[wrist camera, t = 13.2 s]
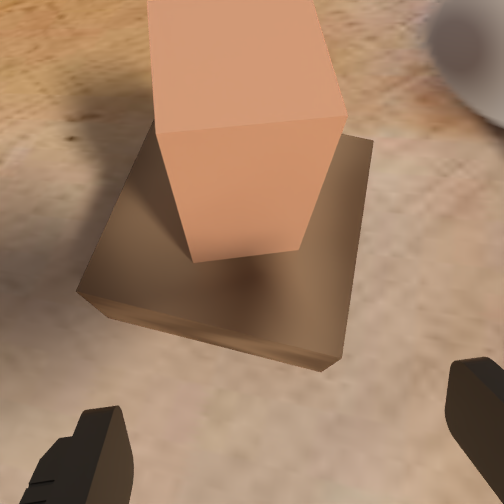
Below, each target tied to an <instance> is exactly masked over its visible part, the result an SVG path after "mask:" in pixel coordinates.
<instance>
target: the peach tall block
mask: <svg viewBox="0 0 504 504" xmlns="http://www.w3.org/2000/svg"><path fill="white" fill-rule="evenodd" d="M147 11H148V26H149V41H150V56H151V71H152V86H153V101H154V115H155V130H156V136H157V140H158V143H159V147H160V150H161V154H162V157H163V161H164V164H165V167H166V171H167V174H168V178H169V181H170V185H171V188H172V192H173V195H174V198H175V202H176V205H177V209H178V212H179V216H180V219H181V223H182V226H183V229H184V233H185V236H186V240H187V243H188V247H189V250H190V254H191V257H192V260H193V263H198V262H206V261H214V260H222V259H230V258H238V257H246V256H254V255H262V254H270V253H278V252H286V251H294V250H299V248H300V245H301V242H302V240H303V237H304V234H305V231H306V229H307V226H308V223H309V221H310V218H311V215H312V212H313V210H314V207H315V204H316V202H317V199H318V196H319V193H320V191H321V188H322V185H323V182H324V180H325V177H326V174H327V172H328V169H329V166H330V163H331V161H332V158H333V155H334V153H335V150H336V147H337V144H338V142H339V139H340V136H341V133H342V131H343V128H344V125H345V123H346V120H347V117H348V114H347V110H346V107H345V104H344V101H343V97H342V94H341V91H340V88H339V84H338V81H337V78H336V75H335V71H334V68H333V65H332V62H331V58H330V55H329V52H328V49H327V45H326V42H325V39H324V36H323V32H322V29H321V26H320V23H319V19H318V16H317V13H316V10H315V6H314V3H313V0H149V1H147Z"/></svg>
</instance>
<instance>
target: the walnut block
mask: <svg viewBox="0 0 504 504" xmlns="http://www.w3.org/2000/svg"><path fill="white" fill-rule="evenodd" d="M373 142H374V141H373V140H368V139H363V138H359V137H354V136H349V135H344V134H341V136H340V139H339V142H338V144H337V147H336V150H335V153H334V155H333V158H332V161H331V163H330V166H329V169H328V172H327V174H326V177H325V180H324V182H323V185H322V188H321V191H320V193H319V196H318V199H317V202H316V204H315V207H314V210H313V212H312V215H311V218H310V221H309V223H308V226H307V229H306V231H305V234H304V237H303V240H302V242H301V245H300V248H299V250H294V251H286V252H278V253H270V254H262V255H254V256H246V257H238V258H230V259H222V260H214V261H206V262H198V263H193V260H192V257H191V254H190V250H189V247H188V243H187V240H186V236H185V233H184V229H183V226H182V223H181V219H180V216H179V212H178V209H177V205H176V202H175V198H174V195H173V192H172V188H171V185H170V181H169V178H168V174H167V171H166V167H165V164H164V161H163V157H162V154H161V150H160V147H159V143H158V140H157V136H156V130H155V119H154V121H153V123H152V125H151V127H150V130H149V132H148V134H147V136H146V138H145V141H144V143H143V145H142V147H141V149H140V152H139V154H138V156H137V158H136V160H135V163H134V165H133V167H132V169H131V171H130V174H129V176H128V178H127V180H126V182H125V184H124V187H123V189H122V191H121V193H120V195H119V198H118V200H117V202H116V204H115V206H114V209H113V211H112V213H111V215H110V217H109V220H108V222H107V224H106V226H105V228H104V231H103V233H102V235H101V237H100V239H99V242H98V244H97V246H96V248H95V250H94V253H93V255H92V257H91V259H90V261H89V264H88V266H87V268H86V270H85V272H84V275H83V277H82V279H81V281H80V283H79V286H78V288H77V290H76V292H77V293H79V294H80V295H81V296H82V297H83V298H85V299H86V300H87V301H88V302H89V303H91V304H92V305H93V306H94V307H95V308H97V309H98V310H99V311H100V312H102V313H103V314H104V315H105V316H106V317H108V318H111V319H115V320H119V321H123V322H127V323H131V324H134V325H138V326H142V327H146V328H150V329H154V330H158V331H162V332H166V333H170V334H174V335H178V336H181V337H185V338H189V339H193V340H197V341H201V342H205V343H209V344H213V345H217V346H221V347H224V348H228V349H232V350H236V351H240V352H244V353H248V354H252V355H256V356H260V357H264V358H267V359H271V360H275V361H279V362H283V363H287V364H291V365H295V366H299V367H303V368H307V369H311V370H314V371H318V372H322V371H324V370H325V369H326V368H328V367H329V366H331V365H332V364H334V363H335V362H337V361H338V360H340V359H341V358H342V353H343V346H344V339H345V332H346V325H347V319H348V312H349V305H350V298H351V291H352V285H353V278H354V271H355V264H356V257H357V251H358V244H359V237H360V230H361V223H362V216H363V210H364V203H365V196H366V189H367V182H368V176H369V169H370V162H371V155H372V148H373Z"/></svg>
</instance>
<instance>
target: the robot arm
mask: <svg viewBox="0 0 504 504" xmlns="http://www.w3.org/2000/svg"><path fill="white" fill-rule="evenodd" d="M445 418H446V422H447V425H448V428H449V430H450V432H451V434H452V436H453V437H454V439H455V440H456V441H457V443H458V444H459V445H460V447H461V448H462V449H463V451H464V452H465V453H466V455H467V456H468V457H469V459H470V460H471V461H472V463H473V464H474V465H475V467H476V468H477V470H478V471H479V472H480V474H481V475H482V476H483V478H484V479H485V480H486V482H487V483H488V484H489V486H490V487H491V488H492V490H493V491H494V492H495V494H496V495H497V496H498V498H499V499H500V500H501V502H502V503H503V504H504V370H503V369H502V368H501V367H500V366H499V365H497V364H496V363H495V362H494V361H493V360H492V359H490V358H488V357H479V358H471V359H464V360H457V361H454V362H453V363H452V364H451V367H450V373H449V381H448V388H447V396H446V404H445ZM133 476H134V463H133V455H132V450H131V446H130V442H129V438H128V434H127V430H126V426H125V422H124V418H123V414H122V410H121V408H120V407H119V406H111V407H103V408H96V409H89V410H84V411H83V413H82V414H81V416H80V419H79V421H78V424H77V426H76V429H75V431H74V434H73V436H71V437H64V438H59V439H58V440H57V441H56V442H55V443H54V444H53V446H52V447H51V448H50V449H49V450H48V451H47V452H46V453H45V454H44V456H43V457H42V458H41V459H40V460H39V463H38V465H37V467H36V469H35V471H34V473H33V475H32V477H31V480H30V482H29V487H28V488H26V490H25V492H24V495H23V497H22V499H21V501H20V503H19V504H129V500H130V495H131V490H132V485H133Z"/></svg>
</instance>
